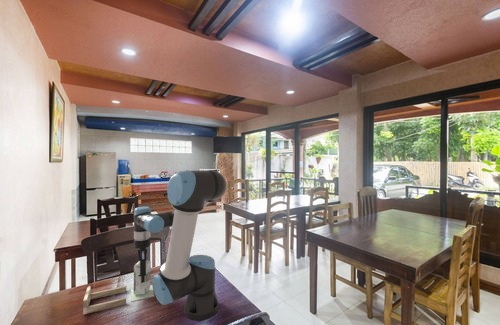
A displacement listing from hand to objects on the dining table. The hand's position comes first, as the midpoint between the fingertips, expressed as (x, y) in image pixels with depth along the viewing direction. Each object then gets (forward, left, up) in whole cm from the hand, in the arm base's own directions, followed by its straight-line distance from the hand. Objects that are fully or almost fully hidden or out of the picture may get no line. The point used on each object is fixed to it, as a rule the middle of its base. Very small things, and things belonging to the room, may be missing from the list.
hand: (142, 284), depth 116 cm
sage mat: (0, 0, -5) cm, 5 cm away
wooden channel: (0, +15, -5) cm, 16 cm away
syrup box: (0, 0, -4) cm, 4 cm away
